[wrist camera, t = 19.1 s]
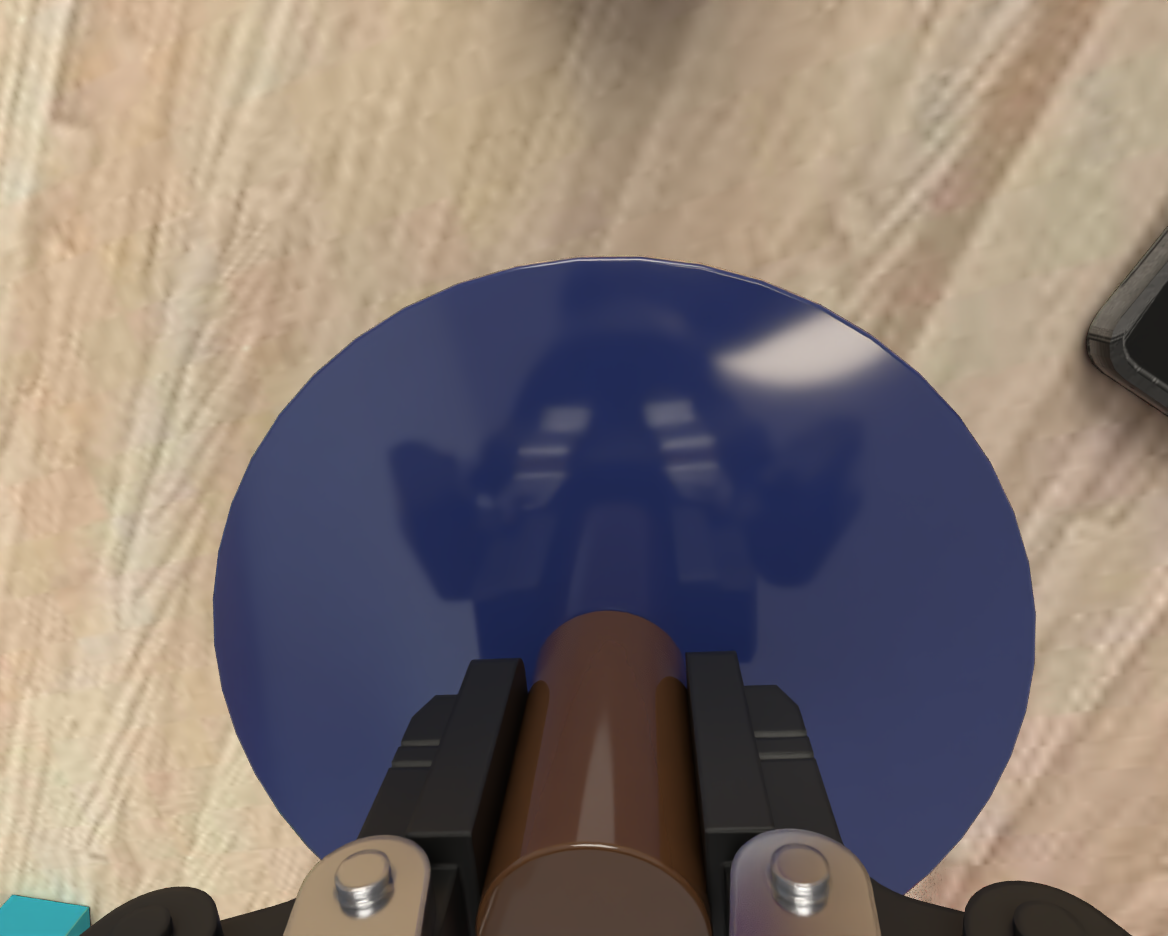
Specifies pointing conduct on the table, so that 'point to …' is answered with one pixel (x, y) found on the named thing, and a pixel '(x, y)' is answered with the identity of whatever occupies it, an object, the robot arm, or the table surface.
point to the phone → (1137, 329)
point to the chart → (42, 918)
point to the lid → (625, 576)
